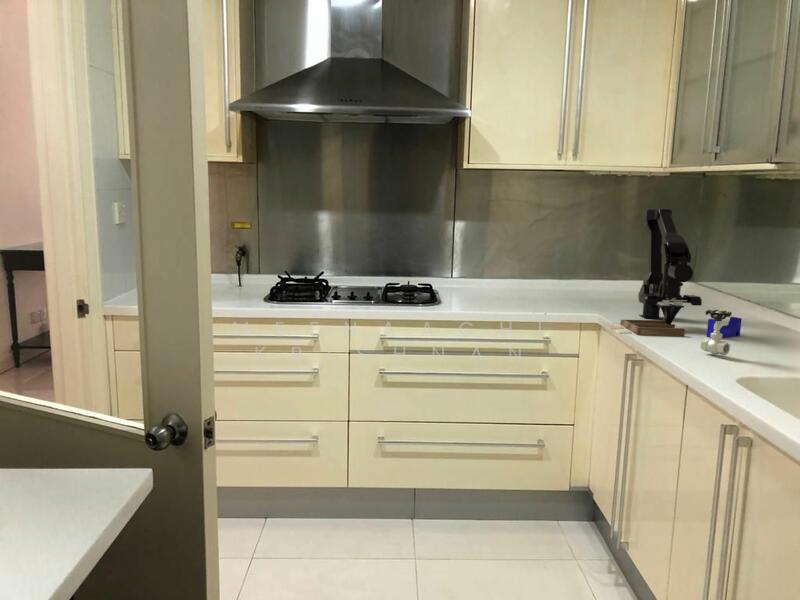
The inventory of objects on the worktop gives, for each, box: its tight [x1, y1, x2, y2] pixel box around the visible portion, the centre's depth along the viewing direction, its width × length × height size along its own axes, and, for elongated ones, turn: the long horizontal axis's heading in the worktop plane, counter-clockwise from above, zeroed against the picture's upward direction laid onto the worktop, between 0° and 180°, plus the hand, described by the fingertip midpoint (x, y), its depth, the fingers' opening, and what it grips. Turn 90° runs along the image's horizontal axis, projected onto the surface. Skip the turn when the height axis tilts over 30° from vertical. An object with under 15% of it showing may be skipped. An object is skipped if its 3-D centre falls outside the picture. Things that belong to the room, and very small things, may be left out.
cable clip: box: [706, 316, 742, 339], centre depth 208 cm, size 12×4×6 cm, turn 117°
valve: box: [700, 309, 732, 356], centre depth 181 cm, size 7×7×12 cm
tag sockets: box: [608, 319, 686, 337], centre depth 213 cm, size 15×20×2 cm
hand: (668, 325), depth 217 cm, fingers closed
